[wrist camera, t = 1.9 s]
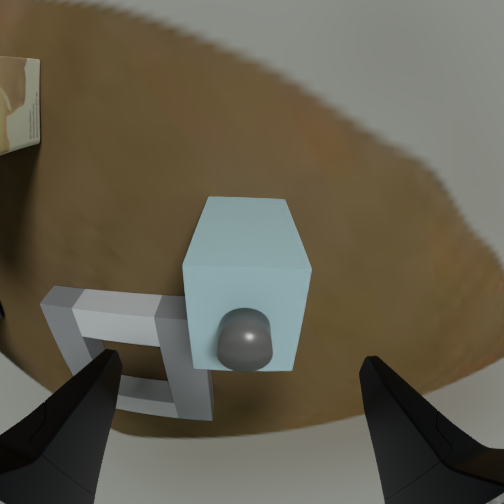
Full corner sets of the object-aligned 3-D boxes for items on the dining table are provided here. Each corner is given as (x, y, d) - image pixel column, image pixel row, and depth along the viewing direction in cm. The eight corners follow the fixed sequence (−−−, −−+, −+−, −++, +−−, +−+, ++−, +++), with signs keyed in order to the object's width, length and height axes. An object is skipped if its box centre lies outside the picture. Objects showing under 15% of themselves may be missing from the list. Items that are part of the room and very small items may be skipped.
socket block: (95, 384, 26) (89, 402, 24) (54, 285, 20) (39, 303, 18) (214, 400, 26) (212, 420, 24) (207, 297, 20) (202, 320, 18)
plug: (209, 276, 20) (189, 394, 11) (208, 196, 17) (173, 289, 9) (277, 278, 20) (295, 396, 11) (284, 199, 17) (320, 294, 9)
